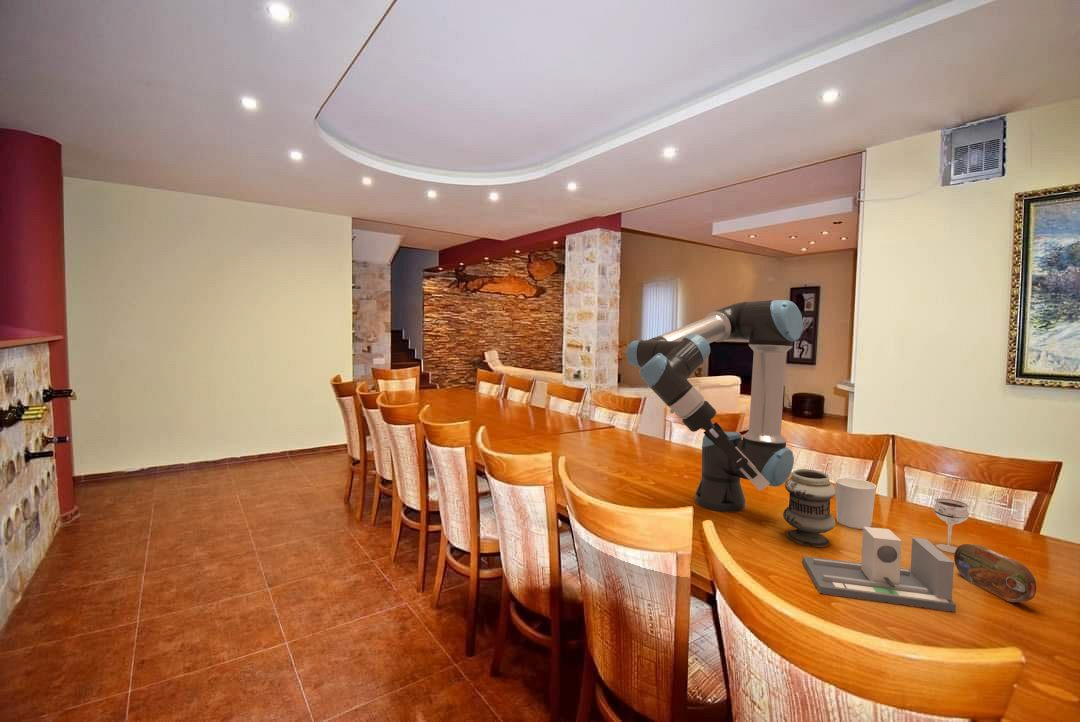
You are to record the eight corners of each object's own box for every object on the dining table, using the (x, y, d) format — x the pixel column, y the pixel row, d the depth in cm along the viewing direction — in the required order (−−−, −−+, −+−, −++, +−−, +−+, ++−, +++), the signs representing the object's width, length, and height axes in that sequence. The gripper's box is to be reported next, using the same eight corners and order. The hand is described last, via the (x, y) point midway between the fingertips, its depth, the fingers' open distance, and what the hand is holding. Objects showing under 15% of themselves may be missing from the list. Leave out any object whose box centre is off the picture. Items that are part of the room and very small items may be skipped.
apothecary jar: (785, 544, 122) (787, 477, 121) (780, 526, 133) (782, 464, 132) (839, 552, 118) (842, 482, 117) (829, 533, 129) (831, 469, 128)
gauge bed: (819, 593, 99) (821, 550, 99) (802, 562, 113) (803, 523, 112) (955, 612, 93) (958, 566, 92) (919, 576, 106) (922, 536, 106)
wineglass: (969, 557, 115) (972, 510, 115) (934, 550, 119) (936, 504, 118) (963, 546, 121) (965, 501, 120) (929, 540, 125) (931, 496, 124)
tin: (951, 572, 108) (954, 537, 108) (964, 572, 109) (966, 536, 108) (1024, 611, 93) (1027, 570, 93) (1038, 610, 94) (1041, 570, 93)
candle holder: (881, 531, 130) (883, 489, 129) (842, 528, 132) (843, 487, 131) (864, 518, 140) (866, 478, 139) (828, 515, 142) (829, 476, 141)
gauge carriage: (878, 591, 97) (881, 544, 96) (861, 569, 106) (863, 526, 105) (906, 595, 96) (909, 548, 95) (886, 572, 105) (888, 529, 104)
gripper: (677, 412, 124) (734, 473, 121) (685, 429, 99) (757, 506, 97) (699, 393, 122) (757, 455, 120) (712, 406, 98) (786, 484, 95)
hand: (757, 478), depth 108 cm, fingers open, 13 cm apart
